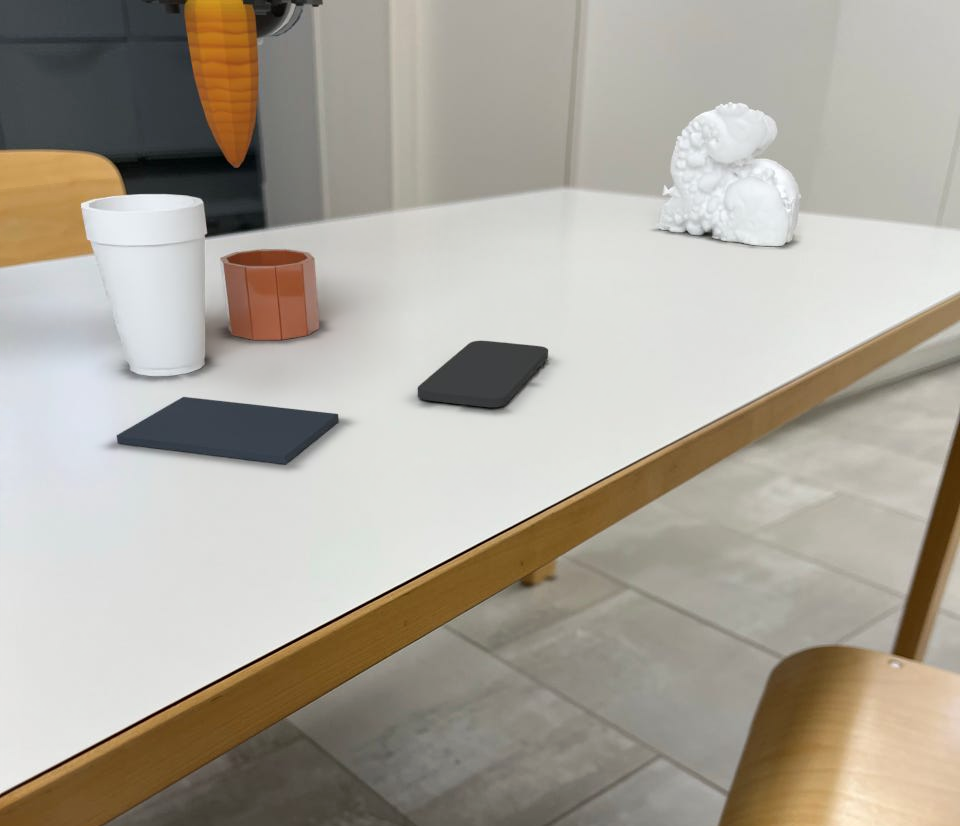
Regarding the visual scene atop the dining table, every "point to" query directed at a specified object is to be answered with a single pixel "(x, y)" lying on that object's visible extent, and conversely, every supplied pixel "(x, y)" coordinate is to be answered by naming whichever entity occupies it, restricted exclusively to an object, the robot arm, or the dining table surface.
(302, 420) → the mat
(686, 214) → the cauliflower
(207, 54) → the carrot
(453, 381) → the phone
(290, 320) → the holder
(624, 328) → the dining table surface
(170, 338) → the foam cup
